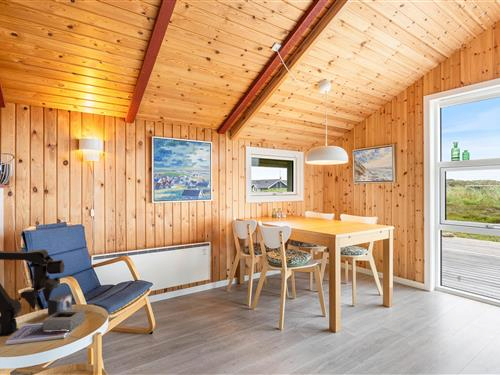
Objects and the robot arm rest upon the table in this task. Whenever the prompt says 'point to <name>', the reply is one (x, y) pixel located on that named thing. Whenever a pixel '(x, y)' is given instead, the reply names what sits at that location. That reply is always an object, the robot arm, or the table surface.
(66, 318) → the grey slotted block
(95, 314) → the table surface
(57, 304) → the small box
